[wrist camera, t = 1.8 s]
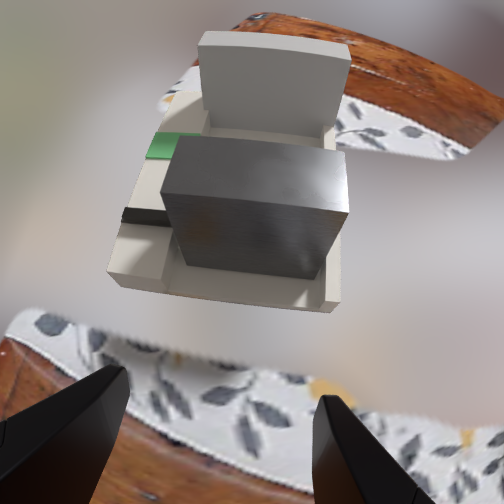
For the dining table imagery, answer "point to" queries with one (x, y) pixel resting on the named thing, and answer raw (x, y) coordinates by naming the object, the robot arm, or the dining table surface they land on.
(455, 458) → the dining table surface
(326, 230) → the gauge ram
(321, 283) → the gauge track
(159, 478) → the dining table surface
